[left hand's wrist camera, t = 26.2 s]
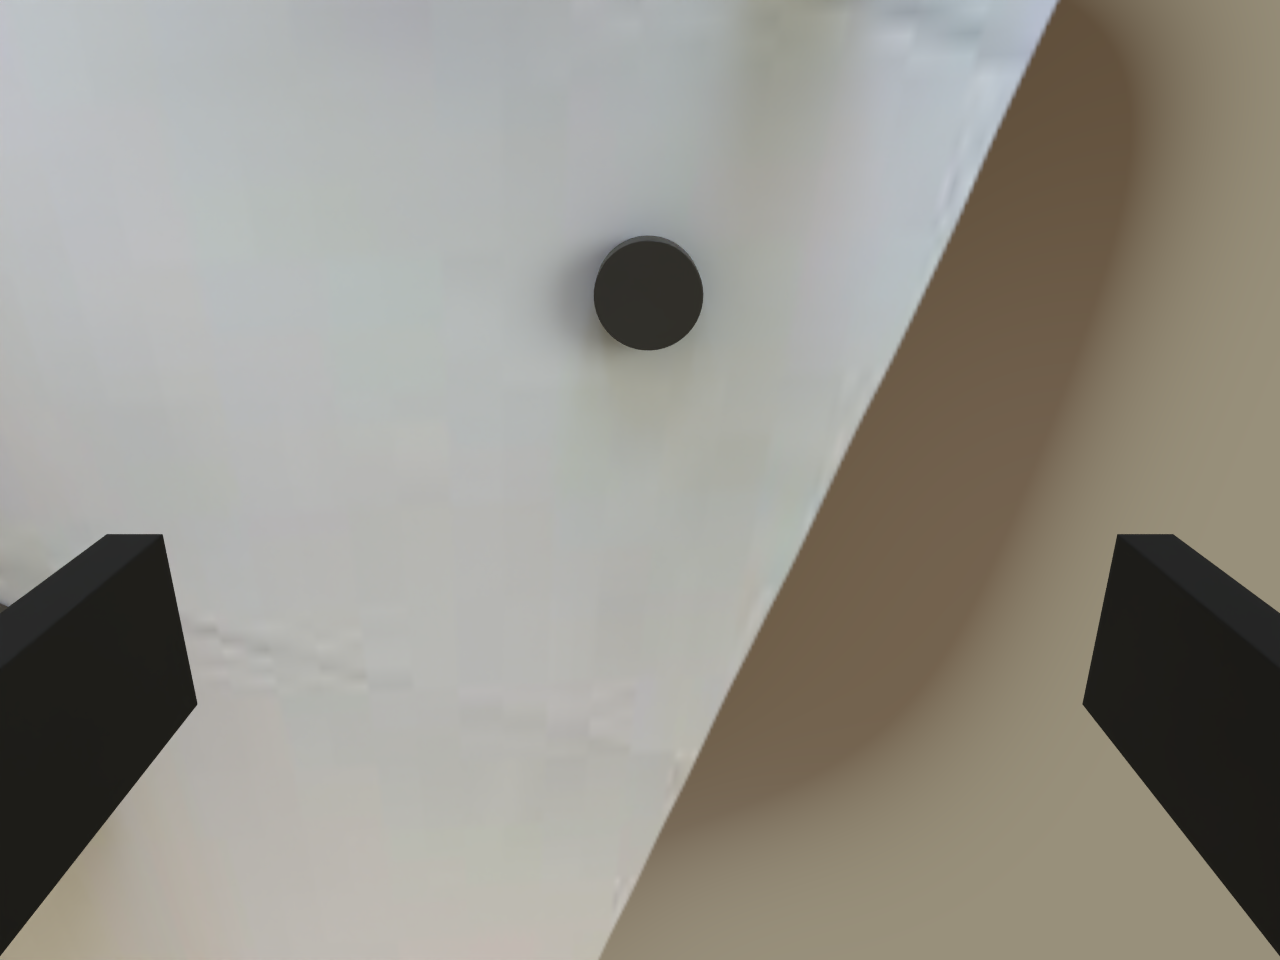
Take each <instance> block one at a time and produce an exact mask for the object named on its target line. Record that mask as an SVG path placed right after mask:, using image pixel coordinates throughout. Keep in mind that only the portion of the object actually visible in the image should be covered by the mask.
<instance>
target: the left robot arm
mask: <svg viewBox="0 0 1280 960" xmlns="http://www.w3.org/2000/svg"><path fill="white" fill-rule="evenodd" d="M196 705H197V699H196V695H195V690H194V685H193V680H192V675H191V670H190V665H189V661H188V656H187V651H186V646H185V641H184V636H183V631H182V626H181V622H180V617H179V612H178V607H177V602H176V597H175V592H174V588H173V583H172V578H171V573H170V568H169V563H168V558H167V553H166V549H165V544H164V539H163V534H107V535H105V536H104V537H103V538H101V539H100V540H99V541H97V542H96V543H94V544H93V545H92V546H90V547H89V548H88V549H86V550H85V551H84V552H82V553H81V554H80V555H78V556H77V557H76V558H74V559H73V560H72V561H70V562H69V563H67V564H66V565H65V566H63V567H62V568H61V569H59V570H58V571H57V572H55V573H54V574H53V575H51V576H50V577H49V578H47V579H46V580H45V581H43V582H42V583H40V584H39V585H38V586H36V587H35V588H34V589H32V590H31V591H30V592H28V593H27V594H26V595H24V596H23V597H22V598H20V599H19V600H17V601H16V602H15V603H13V604H12V605H11V606H9V607H7V606H5V605H2V604H0V956H1V954H2V953H3V952H4V950H5V949H6V948H7V947H8V945H9V944H10V943H11V942H12V940H13V939H14V938H15V936H16V935H17V934H18V933H19V931H20V930H21V929H22V928H23V926H24V925H25V924H26V922H27V921H28V920H29V919H30V917H31V916H32V915H33V913H34V912H35V911H36V910H37V908H38V907H39V906H40V905H41V903H42V902H43V901H44V899H45V898H46V897H47V896H48V894H49V893H50V892H51V891H52V889H53V888H54V887H55V885H56V884H57V883H58V882H59V880H60V879H61V878H62V876H63V875H64V874H65V873H66V871H67V870H68V869H69V868H70V866H71V865H72V864H73V862H74V861H75V860H76V859H77V857H78V856H79V855H80V854H81V852H82V851H83V850H84V848H85V847H86V846H87V845H88V843H89V842H90V841H91V839H92V838H93V837H94V836H95V834H96V833H97V832H98V831H99V829H100V828H101V827H102V825H103V824H104V823H105V822H106V820H107V819H108V818H109V817H110V815H111V814H112V813H113V811H114V810H115V809H116V808H117V806H118V805H119V804H120V802H121V801H122V800H123V799H124V797H125V796H126V795H127V794H128V792H129V791H130V790H131V788H132V787H133V786H134V785H135V783H136V782H137V781H138V780H139V778H140V777H141V776H142V774H143V773H144V772H145V771H146V769H147V768H148V767H149V765H150V764H151V763H152V762H153V760H154V759H155V758H156V757H157V755H158V754H159V753H160V751H161V750H162V749H163V748H164V746H165V745H166V744H167V743H168V741H169V740H170V739H171V737H172V736H173V735H174V734H175V732H176V731H177V730H178V728H179V727H180V726H181V725H182V723H183V722H184V721H185V720H186V718H187V717H188V716H189V714H190V713H191V712H192V711H193V709H194V708H195V707H196ZM1083 705H1084V707H1085V708H1086V709H1087V711H1088V712H1089V713H1090V714H1091V716H1092V717H1093V718H1094V720H1095V721H1096V722H1097V723H1098V725H1099V726H1100V727H1101V728H1102V730H1103V731H1104V732H1105V734H1106V735H1107V736H1108V737H1109V739H1110V740H1111V741H1112V742H1113V744H1114V745H1115V746H1116V748H1117V749H1118V750H1119V751H1120V753H1121V754H1122V755H1123V757H1124V758H1125V759H1126V760H1127V762H1128V763H1129V764H1130V765H1131V767H1132V768H1133V769H1134V771H1135V772H1136V773H1137V774H1138V776H1139V777H1140V778H1141V779H1142V781H1143V782H1144V783H1145V785H1146V786H1147V787H1148V788H1149V790H1150V791H1151V792H1152V794H1153V795H1154V796H1155V797H1156V799H1157V800H1158V801H1159V802H1160V804H1161V805H1162V806H1163V808H1164V809H1165V810H1166V811H1167V813H1168V814H1169V815H1170V816H1171V818H1172V819H1173V820H1174V822H1175V823H1176V824H1177V825H1178V827H1179V828H1180V829H1181V831H1182V832H1183V833H1184V834H1185V836H1186V837H1187V838H1188V839H1189V841H1190V842H1191V843H1192V845H1193V846H1194V847H1195V848H1196V850H1197V851H1198V852H1199V854H1200V855H1201V856H1202V857H1203V859H1204V860H1205V861H1206V862H1207V864H1208V865H1209V866H1210V868H1211V869H1212V870H1213V871H1214V873H1215V874H1216V875H1217V876H1218V878H1219V879H1220V880H1221V882H1222V883H1223V884H1224V885H1225V887H1226V888H1227V889H1228V891H1229V892H1230V893H1231V894H1232V896H1233V897H1234V898H1235V899H1236V901H1237V902H1238V903H1239V905H1240V906H1241V907H1242V908H1243V910H1244V911H1245V912H1246V913H1247V915H1248V916H1249V917H1250V919H1251V920H1252V921H1253V922H1254V924H1255V925H1256V926H1257V928H1258V929H1259V930H1260V931H1261V932H1262V934H1263V935H1264V936H1265V938H1266V939H1267V940H1268V942H1269V943H1270V944H1271V945H1272V947H1273V948H1274V949H1275V950H1276V952H1277V953H1278V954H1279V956H1280V613H1279V612H1277V611H1276V610H1275V609H1273V608H1272V607H1271V606H1269V605H1268V604H1267V603H1265V602H1264V601H1262V600H1261V599H1260V598H1258V597H1257V596H1256V595H1254V594H1253V593H1252V592H1250V591H1249V590H1248V589H1246V588H1245V587H1244V586H1242V585H1241V584H1239V583H1238V582H1237V581H1235V580H1234V579H1233V578H1231V577H1230V576H1229V575H1227V574H1226V573H1225V572H1223V571H1222V570H1221V569H1219V568H1218V567H1217V566H1215V565H1214V564H1213V563H1211V562H1210V561H1208V560H1207V559H1206V558H1204V557H1203V556H1202V555H1200V554H1199V553H1198V552H1196V551H1195V550H1194V549H1192V548H1191V547H1190V546H1188V545H1187V544H1185V543H1184V542H1183V541H1181V540H1180V539H1179V538H1177V537H1176V536H1175V535H1173V534H1118V535H1117V539H1116V544H1115V549H1114V553H1113V558H1112V563H1111V568H1110V573H1109V578H1108V583H1107V588H1106V592H1105V597H1104V602H1103V607H1102V612H1101V617H1100V622H1099V626H1098V631H1097V636H1096V641H1095V646H1094V651H1093V656H1092V661H1091V666H1090V670H1089V675H1088V680H1087V685H1086V690H1085V695H1084V699H1083Z"/></svg>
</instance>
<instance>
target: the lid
mask: <svg viewBox="0 0 1280 960" xmlns="http://www.w3.org/2000/svg"><path fill="white" fill-rule="evenodd" d="M594 303H595V308H596V312H597V315H598V317H599V320H600V321H601V323H602V325H603V327H604V328H605V329H606V331H607V332H608V333H609V334H610V335H611V336H612V337H613V338H615V339H616V340H617V341H619V342H620V343H622V344H624V345H626V346H629V347H631V348H635V349H639V350H658V349H662V348H665V347H668V346H671V345H673V344H675V343H676V342H678V341H679V340H681V339H682V338H683V337H684V336H686V335H687V334H688V333H689V331H690V330H691V329H692V328H693V326H694V325H695V323H696V321H697V319H698V317H699V315H700V312H701V309H702V303H703V287H702V282H701V278H700V276H699V273H698V271H697V268H696V266H695V264H694V262H693V261H692V259H691V258H690V256H689V255H688V254H687V253H686V252H685V251H684V250H683V249H682V248H681V247H680V246H679V245H677V244H675V243H674V242H672V241H670V240H668V239H665V238H661V237H656V236H640V237H635V238H632V239H629V240H627V241H625V242H623V243H621V244H620V245H618V246H617V247H616V248H614V249H613V250H612V251H611V252H610V253H609V254H608V256H607V257H606V258H605V260H604V262H603V263H602V265H601V267H600V270H599V272H598V276H597V279H596V283H595V288H594Z"/></svg>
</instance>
